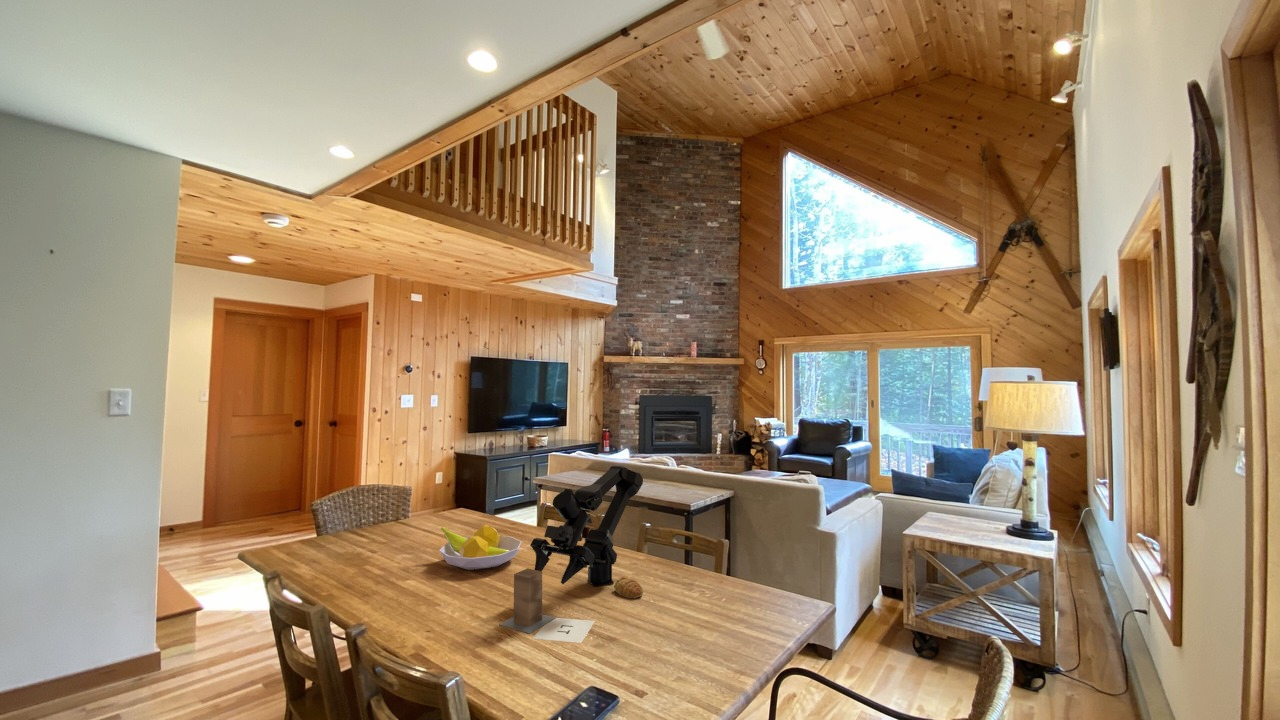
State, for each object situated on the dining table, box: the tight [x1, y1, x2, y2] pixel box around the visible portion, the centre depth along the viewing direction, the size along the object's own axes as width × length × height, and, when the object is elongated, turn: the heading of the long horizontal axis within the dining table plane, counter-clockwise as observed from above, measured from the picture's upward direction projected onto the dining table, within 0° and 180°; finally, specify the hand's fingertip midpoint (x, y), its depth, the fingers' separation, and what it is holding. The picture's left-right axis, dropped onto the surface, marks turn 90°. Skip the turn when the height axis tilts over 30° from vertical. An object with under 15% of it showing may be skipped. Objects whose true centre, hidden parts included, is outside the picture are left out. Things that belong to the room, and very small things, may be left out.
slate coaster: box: [498, 613, 557, 635], centre depth 138 cm, size 10×10×1 cm
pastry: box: [613, 576, 644, 599], centre depth 158 cm, size 9×7×4 cm
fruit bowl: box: [439, 524, 522, 571], centre depth 186 cm, size 28×27×11 cm
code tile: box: [532, 617, 596, 644], centre depth 134 cm, size 12×12×1 cm
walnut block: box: [513, 568, 543, 627], centre depth 138 cm, size 5×5×12 cm
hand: (548, 580), depth 145 cm, fingers open, 9 cm apart
